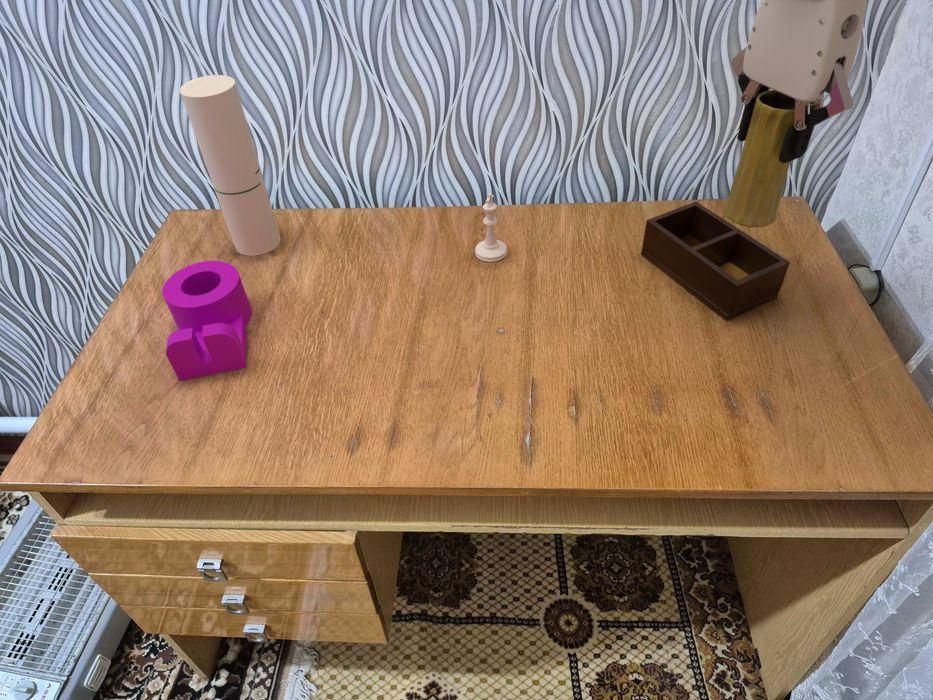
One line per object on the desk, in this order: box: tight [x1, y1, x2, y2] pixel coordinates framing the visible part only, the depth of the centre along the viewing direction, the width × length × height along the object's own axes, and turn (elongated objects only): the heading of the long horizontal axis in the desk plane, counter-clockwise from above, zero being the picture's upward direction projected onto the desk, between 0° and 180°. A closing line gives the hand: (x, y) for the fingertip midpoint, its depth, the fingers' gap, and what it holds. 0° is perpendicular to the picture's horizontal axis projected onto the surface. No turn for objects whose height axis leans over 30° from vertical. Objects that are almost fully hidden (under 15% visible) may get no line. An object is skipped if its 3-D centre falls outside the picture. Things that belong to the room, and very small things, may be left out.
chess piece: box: [474, 192, 509, 263], centre depth 96 cm, size 5×5×10 cm
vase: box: [723, 89, 810, 228], centre depth 76 cm, size 6×6×14 cm
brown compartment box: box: [640, 201, 791, 322], centre depth 91 cm, size 9×17×6 cm, turn 28°
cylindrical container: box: [179, 74, 282, 257], centre depth 96 cm, size 7×7×25 cm
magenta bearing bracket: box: [161, 260, 253, 381], centre depth 88 cm, size 16×10×6 cm, turn 14°
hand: (769, 146), depth 74 cm, fingers closed on vase, 5 cm apart
